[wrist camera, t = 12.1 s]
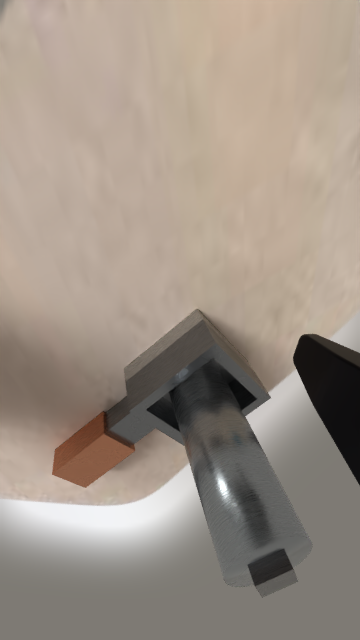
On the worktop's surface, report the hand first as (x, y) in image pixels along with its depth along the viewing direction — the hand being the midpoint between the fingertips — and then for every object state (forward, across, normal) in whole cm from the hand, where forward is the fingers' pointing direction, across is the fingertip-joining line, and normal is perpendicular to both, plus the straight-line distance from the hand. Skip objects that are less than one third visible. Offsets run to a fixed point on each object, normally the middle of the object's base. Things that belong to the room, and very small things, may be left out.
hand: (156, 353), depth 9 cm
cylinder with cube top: (+12, -6, +11) cm, 17 cm away
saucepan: (+13, -2, +15) cm, 20 cm away
